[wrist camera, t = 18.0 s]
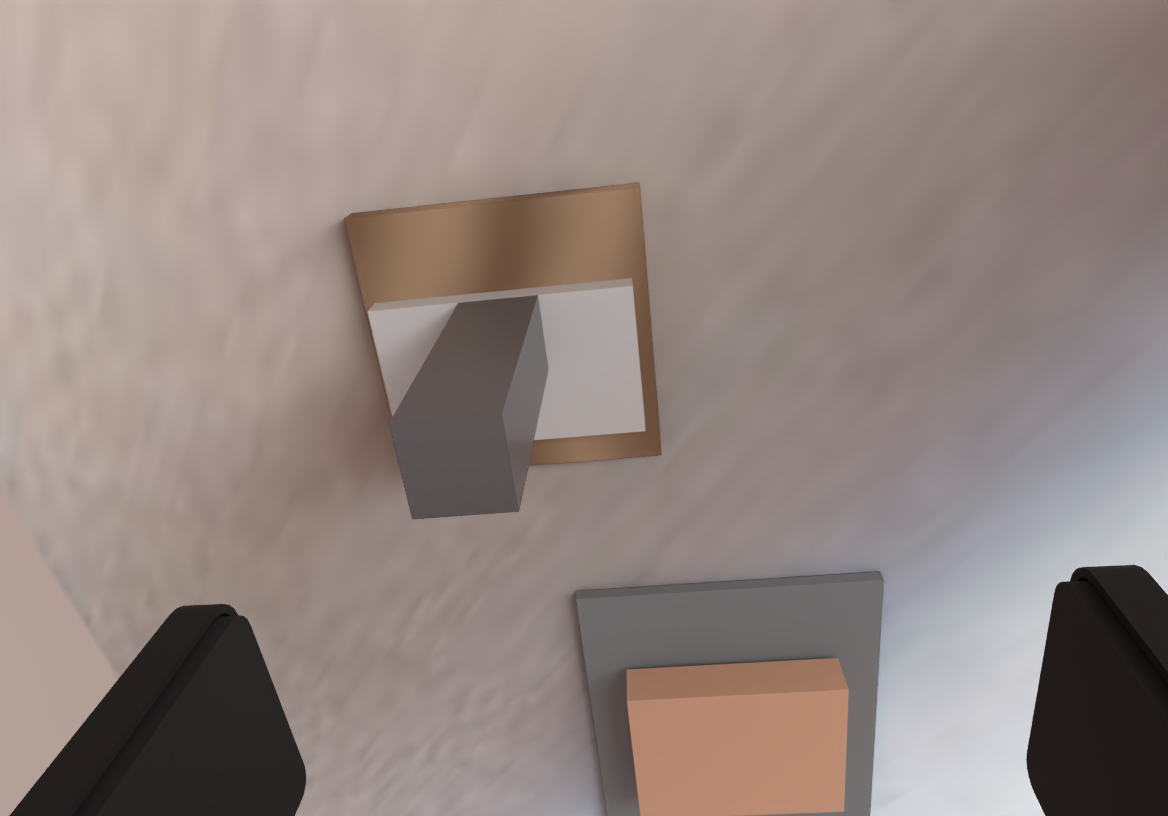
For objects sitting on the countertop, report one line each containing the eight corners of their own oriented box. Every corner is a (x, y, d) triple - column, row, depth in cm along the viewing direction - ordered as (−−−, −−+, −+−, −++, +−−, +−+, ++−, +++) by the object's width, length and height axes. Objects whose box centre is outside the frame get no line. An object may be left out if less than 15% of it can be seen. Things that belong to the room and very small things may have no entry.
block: (848, 689, 36) (843, 811, 40) (836, 653, 38) (832, 772, 42) (626, 701, 37) (640, 819, 41) (626, 665, 39) (639, 780, 43)
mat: (879, 571, 37) (883, 579, 36) (866, 811, 44) (869, 821, 43) (576, 590, 38) (575, 599, 38) (609, 821, 45) (609, 831, 44)
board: (639, 182, 30) (640, 187, 29) (660, 443, 35) (661, 455, 34) (351, 213, 31) (343, 219, 30) (410, 463, 36) (404, 475, 35)
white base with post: (374, 303, 31) (260, 434, 21) (631, 278, 30) (637, 402, 21) (406, 439, 34) (318, 612, 24) (644, 419, 33) (655, 591, 23)
